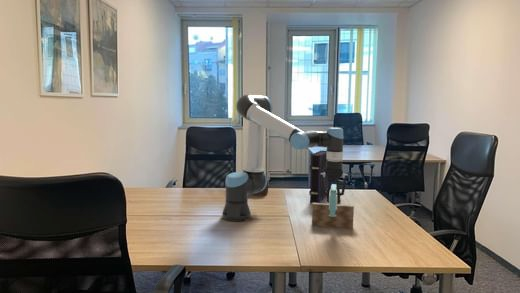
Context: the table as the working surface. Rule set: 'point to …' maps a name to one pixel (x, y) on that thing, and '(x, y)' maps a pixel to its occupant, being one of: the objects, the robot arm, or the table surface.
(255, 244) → the table surface
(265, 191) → the letter holder
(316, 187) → the book
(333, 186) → the teal plate
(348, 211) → the walnut plate
